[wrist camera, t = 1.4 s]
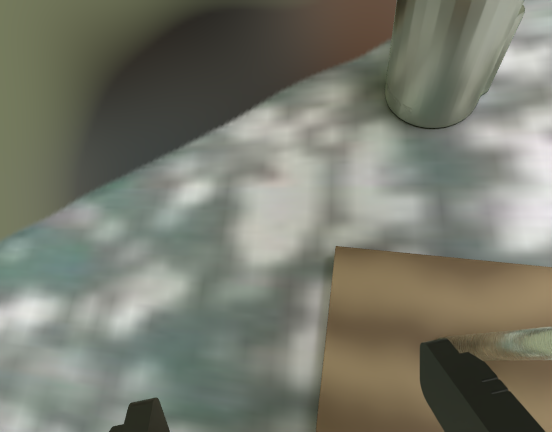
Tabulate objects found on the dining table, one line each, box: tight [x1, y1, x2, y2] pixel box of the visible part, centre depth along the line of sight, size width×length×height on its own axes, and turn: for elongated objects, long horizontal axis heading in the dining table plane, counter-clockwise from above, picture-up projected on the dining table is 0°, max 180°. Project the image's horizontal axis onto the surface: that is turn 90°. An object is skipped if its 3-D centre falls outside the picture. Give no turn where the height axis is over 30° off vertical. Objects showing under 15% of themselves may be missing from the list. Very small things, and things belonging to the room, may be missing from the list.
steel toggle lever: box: [438, 327, 552, 361], centre depth 21 cm, size 3×3×16 cm
